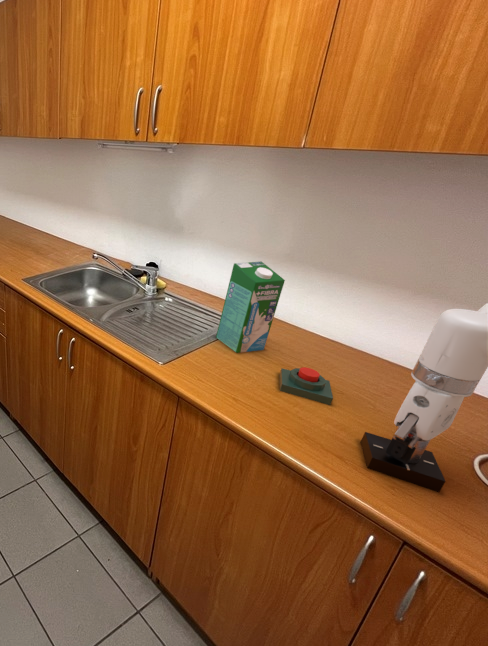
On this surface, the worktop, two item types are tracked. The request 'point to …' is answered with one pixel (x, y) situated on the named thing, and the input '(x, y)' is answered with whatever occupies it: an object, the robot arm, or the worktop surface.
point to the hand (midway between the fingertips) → (403, 452)
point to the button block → (305, 386)
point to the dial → (417, 448)
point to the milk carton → (249, 306)
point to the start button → (308, 374)
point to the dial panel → (401, 464)
